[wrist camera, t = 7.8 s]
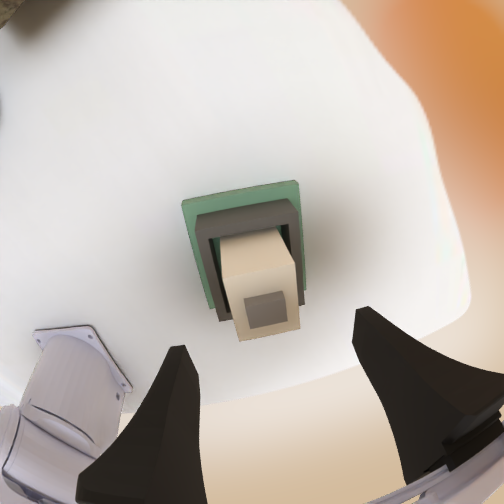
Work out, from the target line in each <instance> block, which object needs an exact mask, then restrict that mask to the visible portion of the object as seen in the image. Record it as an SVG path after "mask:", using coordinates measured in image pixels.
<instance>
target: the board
mask: <svg viewBox="0 0 504 504" xmlns="http://www.w3.org/2000/svg"><path fill="white" fill-rule="evenodd" d="M181 206H182V210H183V214H184V218H185V222H186V226H187V230H188V234H189V238H190V241H191V245H192V249H193V253H194V256H195V260H196V263H197V267H198V271H199V274H200V278H201V281H202V284H203V288H204V291H205V295H206V298H207V301H208V305H209V308H210V309H213V308H215V309H216V312H217V315H218V319H219V322H220V321H226V320H231V319H233V316H232V313H231V309H230V305H229V302H228V298H227V294H226V290H225V287H224V283H223V279H222V266H221V250H220V237H221V236H226V235H231V234H236V233H241V232H247V231H252V230H257V229H263V228H268V227H274V226H276V228H277V230H278V232H279V234H280V236H281V238H282V240H283V241H284V243H285V245H286V247H287V249H288V251H289V253H290V255H291V257H292V259H293V261H294V263H295V271H296V281H297V293H298V305H299V306H301V305H305V302H304V290H306V277H305V259H304V244H303V230H302V218H301V206H300V195H299V184H298V183H297V182H296V181H295V180H292V181H285V182H279V183H273V184H267V185H261V186H255V187H249V188H243V189H238V190H233V191H227V192H222V193H217V194H212V195H207V196H202V197H197V198H192V199H188V200H183V202H182V205H181Z"/></svg>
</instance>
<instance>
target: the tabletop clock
mask: <svg viewBox="0 0 504 504" xmlns="http://www.w3.org/2000/svg"><path fill="white" fill-rule="evenodd" d="M23 2H24V0H0V29H1V28H2V27H3V26H4V25H5V24H6V22H7V21H8V20H9V19H10V17H11V16H12V15H13V13H14V12H15V11H16V10H17V9H18V7H19V6H20V5H21V4H22V3H23Z"/></svg>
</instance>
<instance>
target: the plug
mask: <svg viewBox="0 0 504 504" xmlns="http://www.w3.org/2000/svg"><path fill="white" fill-rule="evenodd" d="M220 250H221V266H222V279H223V283H224V287H225V290H226V294H227V298H228V302H229V305H230V309H231V313H232V316H233V320H234V324H235V327H236V331H237V335H238V338H239V342H240V341H245V340H251V339H256V338H260V337H265V336H270V335H274V334H279V333H283V332H288V331H292V330H296V329H300V318H299V305H298V293H297V281H296V271H295V263H294V261H293V259H292V257H291V255H290V253H289V251H288V249H287V247H286V245H285V243H284V241H283V240H282V238H281V236H280V234H279V232H278V230H277V228H276V226H274V227H268V228H263V229H257V230H252V231H247V232H241V233H236V234H231V235H226V236H221V237H220Z"/></svg>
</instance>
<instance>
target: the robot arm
mask: <svg viewBox="0 0 504 504" xmlns="http://www.w3.org/2000/svg"><path fill="white" fill-rule="evenodd" d="M32 335H33V337H34V339H35V340H36V342H37V343H38V345H39V346H40V348H41V349H42V350H43V352H42V354H41V356H40V358H39V360H38V362H37V365H36V367H35V369H34V371H33V373H32V375H31V378H30V380H29V382H28V385H27V387H26V389H25V392H24V394H23V397H22V399H21V402H20V404H19V406H18V407H16V406H15V405H13V404H10V405H7V406H4V407H2V409H1V410H0V504H207V498H206V493H205V488H204V482H203V475H202V468H201V460H200V450H199V420H200V387H199V376H198V373H197V371H196V368H195V366H194V364H193V362H192V360H191V358H190V356H189V353H188V351H187V349H186V347H185V345H180V346H172V347H170V348H169V350H168V353H167V355H166V357H165V359H164V361H163V364H162V366H161V368H160V370H159V372H158V374H157V376H156V378H155V380H154V382H153V384H152V386H151V388H150V390H149V391H148V393H147V395H146V397H145V398H144V400H143V402H142V403H141V405H140V407H139V408H138V410H137V412H136V413H135V415H134V416H133V418H132V419H131V421H130V422H129V423H128V425H127V426H126V427H125V429H124V430H123V431H122V432H121V434H120V435H119V436H118V437H117V434H118V427H119V422H120V416H121V410H122V405H123V400H124V394H125V393H130V392H132V389H133V388H132V387H131V385H130V384H129V383H128V381H127V380H126V379H125V377H124V376H123V374H122V373H121V372H120V370H119V369H118V367H117V366H116V364H115V363H114V361H113V360H112V358H111V357H110V355H109V354H108V352H107V351H106V349H105V348H104V346H103V345H102V343H101V341H100V340H99V338H98V336H97V335H96V333H95V331H94V330H93V329H92V328H91V327H89V326H82V327H73V328H63V329H52V330H41V331H34V332H33V334H32ZM352 344H353V346H354V349H355V352H356V354H357V357H358V359H359V362H360V363H361V365H362V367H363V369H364V371H365V373H366V375H367V376H368V378H369V380H370V382H371V384H372V386H373V387H374V389H375V391H376V393H377V395H378V396H379V399H380V400H381V403H382V405H383V407H384V410H385V412H386V415H387V418H388V420H389V423H390V426H391V429H392V432H393V435H394V438H395V442H396V445H397V449H398V453H399V457H400V461H401V466H402V470H403V476H404V480H405V482H406V485H407V486H405V487H403V488H401V489H399V490H396V491H394V492H392V493H390V494H387V495H385V496H383V497H380V498H378V499H376V500H373V501H370V502H367V503H365V504H401V503H403V502H405V501H407V500H409V499H411V498H413V497H415V496H417V495H419V494H421V495H420V498H419V500H418V501H416V502H414V503H412V504H482V503H483V502H485V501H486V500H487V499H488V498H489V497H490V496H491V495H492V494H493V493H494V492H495V491H496V490H497V489H498V488H499V487H501V486H502V484H503V483H504V421H503V422H501V421H500V420H499V418H500V417H501V413H500V412H499V409H500V408H501V407H502V405H504V374H501V373H496V372H491V371H486V370H483V369H479V368H476V367H472V366H469V365H466V364H463V363H461V362H458V361H456V360H454V359H451V358H449V357H447V356H445V355H443V354H441V353H438V352H437V351H435V350H432V349H431V348H429V347H427V346H426V345H424V344H422V343H421V342H419V341H417V340H416V339H414V338H413V337H411V336H410V335H408V334H407V333H405V332H404V331H402V330H401V329H399V328H398V327H397V326H395V325H394V324H392V323H391V322H390V321H388V320H387V319H386V318H384V317H383V316H382V315H380V314H379V313H377V312H376V311H375V310H373V309H372V308H371V307H369V306H367V307H363V308H360V309H356V313H355V322H354V331H353V339H352ZM116 438H117V439H116ZM100 454H102V455H101V456H100Z"/></svg>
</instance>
